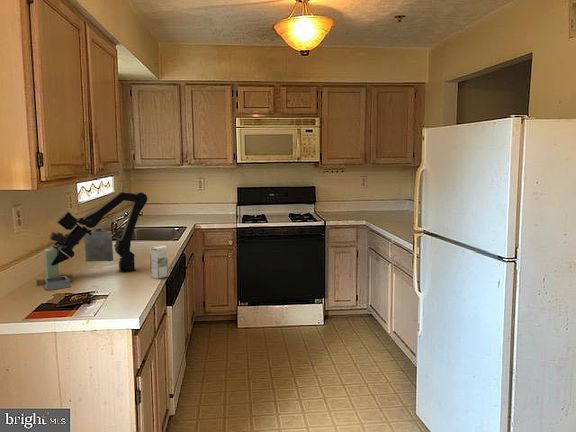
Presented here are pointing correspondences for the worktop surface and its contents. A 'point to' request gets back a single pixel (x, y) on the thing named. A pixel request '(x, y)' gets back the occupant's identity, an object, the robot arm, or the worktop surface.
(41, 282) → the brown wooden bar
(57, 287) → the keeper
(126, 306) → the worktop surface
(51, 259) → the bar
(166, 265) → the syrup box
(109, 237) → the flask
